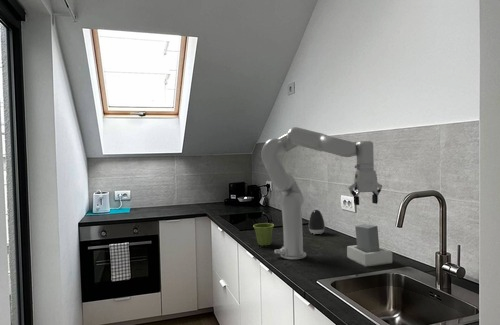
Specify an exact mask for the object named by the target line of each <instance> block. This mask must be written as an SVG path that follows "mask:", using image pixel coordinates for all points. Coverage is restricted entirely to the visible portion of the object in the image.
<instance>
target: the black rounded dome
mask: <svg viewBox="0 0 500 325" xmlns="http://www.w3.org/2000/svg"><path fill="white" fill-rule="evenodd" d="M325 229H326V224H325V221H324V216H323V214H322V213H321V211H320V210H318V209H314V210H312V212H310V216H309V220H308V230H309V232H310V233H311V234H312V233H313V234H312V235H315V234H320V235H322V234H323V233H324V232H325Z"/></svg>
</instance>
